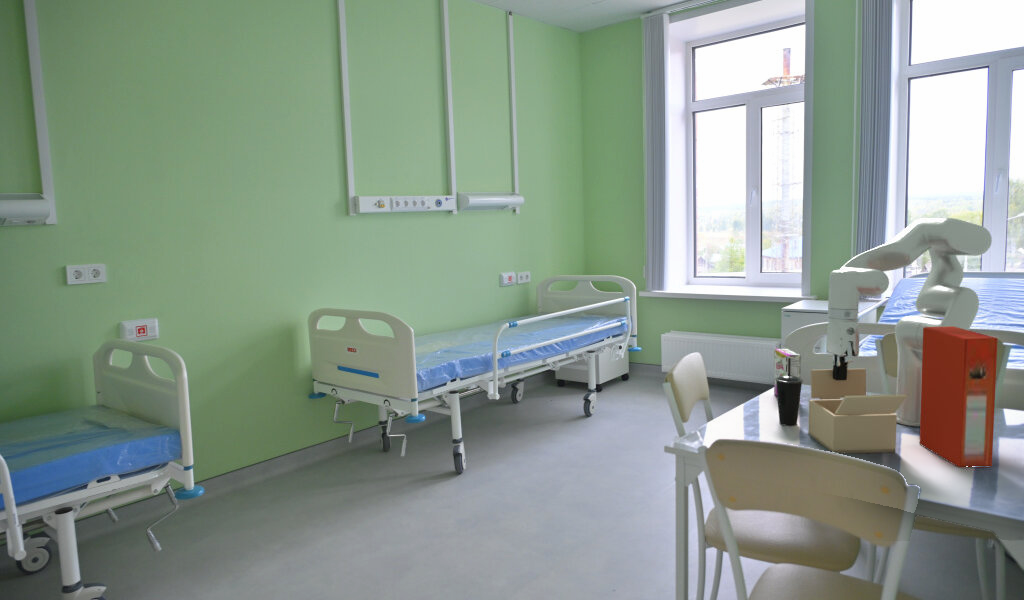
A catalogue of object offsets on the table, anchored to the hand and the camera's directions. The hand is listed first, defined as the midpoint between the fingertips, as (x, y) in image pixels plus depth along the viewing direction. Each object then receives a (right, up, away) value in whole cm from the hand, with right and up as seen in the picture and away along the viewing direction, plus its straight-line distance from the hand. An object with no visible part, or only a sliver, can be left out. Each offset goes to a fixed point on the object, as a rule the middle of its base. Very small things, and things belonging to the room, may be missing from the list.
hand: (839, 379), depth 187 cm
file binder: (+21, -18, -16) cm, 32 cm away
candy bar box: (+2, -12, +41) cm, 42 cm away
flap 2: (0, -4, -16) cm, 16 cm away
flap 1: (+1, -1, +2) cm, 2 cm away
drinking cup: (-9, -15, +14) cm, 22 cm away
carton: (+1, -17, -4) cm, 17 cm away
